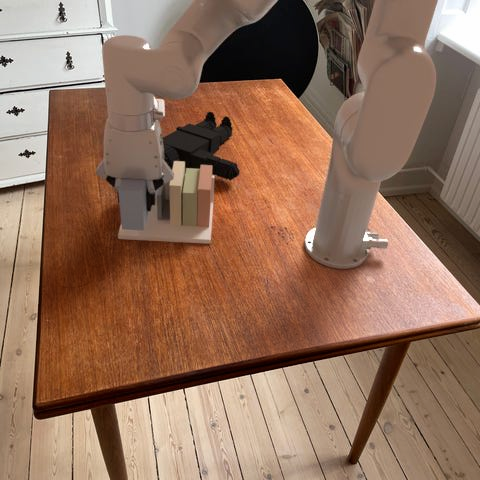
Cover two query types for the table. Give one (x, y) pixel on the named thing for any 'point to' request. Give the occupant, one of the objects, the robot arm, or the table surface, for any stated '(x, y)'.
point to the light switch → (159, 105)
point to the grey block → (133, 203)
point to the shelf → (166, 229)
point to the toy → (201, 146)
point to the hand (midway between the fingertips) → (137, 205)
